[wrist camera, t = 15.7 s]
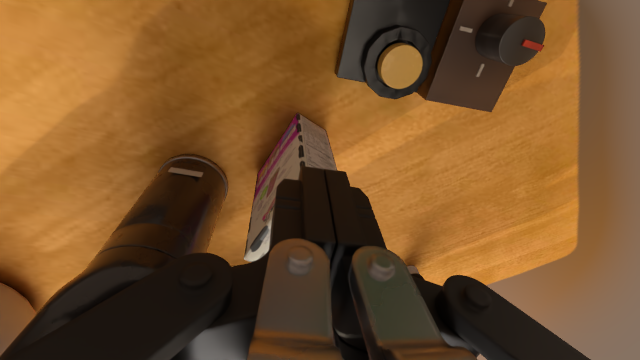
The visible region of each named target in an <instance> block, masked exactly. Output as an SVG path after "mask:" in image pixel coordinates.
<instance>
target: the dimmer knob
mask: <svg viewBox="0 0 640 360" xmlns="http://www.w3.org/2000/svg"><path fill="white" fill-rule="evenodd" d="M544 38H545V27H544V24H543V23H542V21H541V20H540V19H538V18H537V17H533V16H524V15H514V14H496V15H494V16H492V17H490V18H489V19H487V20H486V21H485V22H484V23H483V24H482V26H481V27H480V29H479V31H478V33H477V36H476V41H475V44H476V49H477V51H478V53H479V54H480V55H481V56H483V57H485V58H488V59H491V60H494V61H497V62H500V63H503V64H506V65H509V66H518V65H521V64H524V63H526V62H527V61H529V60H530V59H532V58H533V57H534V56H535V55H536V54H537V52H538V51H541V50H542V48H543V47H544V45H542V44H543V41H544Z"/></svg>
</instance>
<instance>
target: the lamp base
mask: <svg viewBox="0 0 640 360" xmlns="http://www.w3.org/2000/svg"><path fill="white" fill-rule="evenodd" d="M449 3H450V0H350V5H349V9H348V14H347V18H346V23H345V28H344V32H343V37H342V41H341V46H340V51H339V55H338V60H337V65H336V69H335V74H336V76H337V77H339V78H344V79H350V80H355V81H360V82H365V83H367V85H368V86H369V87H370V88H371V89H372V90H373V91H374V92H375V93H376V94H378V95H379V96H380V97H386V98H391V99H398V98H401V97H404V96H406V95H409V94H412V93H413V92H417V90H418V88H419V86H420V85H421V84H422V83H423V82H424V81H425V80H426V77H427V74H428V72H429V69H430V66H431V64H432V58H431V52H432V49H433V47H434V44H435V41H436V38H437V36H438V33H439V30H440V27H441V25H442V22H443V19H444V16H445V14H446V11H447V8H448V6H449ZM395 43H405V44H408V45H410V46H412V47H414V48H416V49H417V50H418V51H419V53H420V54H421V57H422V62H423V64H422V70H421V73H420V75H419V77H418V78H417V80H416V81H415V82H414V83H413V84H411V85H410V86H408V87H406V88H402V89H395V88H392V87H390V86H388V85H387V84H386V83H385V82H384V81H383V80H382V79H381V78H380V76H379V74H378V69H377V65H378V60H379V57H380V55H381V54H382V52H383V51H384V50H385V49H386V48H387V47H388V46H390V45H392V44H395Z"/></svg>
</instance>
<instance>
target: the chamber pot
mask: <svg viewBox="0 0 640 360" xmlns="http://www.w3.org/2000/svg"><path fill="white" fill-rule="evenodd" d="M35 315H36V313H35V310H34V308H33V307H32V305H31V304H30V303H29V301H28V300H27V299H26V298H25V297H24V296H22V295H21V294H20V293H18V292H17V291H16V290H14V289H12V288H10V287H8V286H6V285H4V284H2V283H0V355H1V354H2V353H3V352H4V351H5V350H6V349H7V347H8V346H9V345H10V344H11V343H12V342H13V340H14V339H15V338H16V337H17V336H18V335H19V333H20V332H21V331H22V330H23V329H24V328H25V327H26V325H27V324H28V323H29V322H30V321H31V320H32V318H33V317H34V316H35Z"/></svg>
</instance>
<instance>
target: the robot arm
mask: <svg viewBox="0 0 640 360" xmlns="http://www.w3.org/2000/svg"><path fill="white" fill-rule="evenodd" d="M227 191H228V182H227V179H226V176H225V174H224V173H223V171H222V170H221V169H220V168H219V167H218V166H217V165H216V164H215V163H213V162H212V161H210V160H208V159H206V158H204V157H201V156H197V155H190V154H185V155H179V156H175V157H173V158H171V159H169V160H168V161H166V162H165V163H164V165H163V166H162V167H161V169H160V170H159V172H158V174H157V175H156V176H155V178H154V179H153V180H152V182H151V183H150V184H149V186H148V187H147V188H146V190H145V191H144V192H143V194H142V195H141V196H140V198H139V199H138V200H137V202H136V203H135V204H134V206H133V207H132V208H131V210H130V211H129V212H128V214H127V215H126V216H125V218H124V219H123V220H122V222H121V223H120V224H119V226H118V227H117V228H116V230H115V231H114V232H113V234H112V235H111V236H110V238H109V239H108V241H107V242H106V243H105V245H104V246H103V247H102V249H101V250H100V251H99V252H98V254H97V255H96V256H95V258H94V259H93V260H92V262H91V263H90V264H89V266H88V267H87V268H86V269H85V270H84V271H83V272H82V273H81V274H79V275H78V276H77V277H75V278H74V279H73V280H71V281H70V282H68V283H67V284H66V285H64V286H63V287H62V288H61V289H60V290H58V291H57V292H56V293H55V294H54V295H53V296H52V297H51V298H50V299H49V300H48V301H47V302H46V303H45V305H44V306H43V307H42V308H41V309H40V310H39V311H38V313H37V314H36V315H35V316H34V317H33V318H32V320H31V321H30V322H29V323H28V324H27V325H26V327H25V328H24V329H23V330H22V331H21V332H20V333H19V335H18V336H17V337H16V338H15V339H14V340H13V342H12V343H11V344H10V345H9V346H8V347H7V349H6V350H5V351H4V352H3V353H2V354H1V355H0V360H477V356H478V355H479V354H481V355H483V356H484V357H485V358H486V359H487V360H590V359H589V358H587V357H586V356H584V355H583V354H582V353H580V352H579V351H578V350H576V349H575V348H573V347H572V346H570V345H569V344H568V343H566V342H565V341H563V340H562V339H561V338H559V337H558V336H556V335H555V334H554V333H552V332H551V331H549V330H548V329H546V328H545V327H544V326H542V325H541V324H539V323H538V322H536V321H535V320H534V319H532V318H531V317H530V316H528V315H527V314H525V313H524V312H523V311H521V310H520V309H518V308H517V307H516V306H514V305H513V304H511V303H510V302H508V301H507V300H506V299H504V298H503V297H501V296H500V295H499V294H497V293H496V292H494V291H493V290H491V289H490V288H488V287H487V286H486V285H484V284H483V283H481V282H479V281H478V280H476V279H473V278H471V277H467V276H463V275H454V276H451V277H449V278H448V279H447V280H446V281H445V283H444V285H443V286H440V285H437V284H434V283H431V282H428V281H425V280H422V279H420V278H417V277H415V276H412V275H411V274H410V272H409V270H408V268H407V266H406V264H405V263H404V262H403V260H402V259H401V258H400V257H399V256H397V255H396V254H395V253H393V252H391V251H389V250H387V248H386V245H385V243H384V240H383V237H382V234H381V232H380V229H379V226H378V223H377V221H376V219H375V215H374V213H373V210H372V207H371V204H370V202H369V199H368V197H367V196H366V195H365V194H364V193H363V192H362V191H361V190H360V189H359V188H355V187H350V184H349V181H348V177H347V174H346V172H344V171H336V170H329V169H324V170H323V169H321V168H314V167H307V166H301V168H300V172H299V177H298V180H293V179H285V178H284V179H283V180H282V181H281V182H280V183H279V185H278V186H277V189H276V196H275V203H274V209H273V216H272V223H271V233H270V243H269V250H268V252H267V253H266V254H265V255H264V256H263V257H261V258H260V259H258V260H256V261H254V262H251V263H248V264H244V265H238V266H233V267H231V266H230V265H229V264H228V262H227V261H225V260H224V259H223V258H221V257H219V256H217V255H214V254H210V253H206V252H207V249H208V246H209V243H210V240H211V237H212V234H213V231H214V228H215V225H216V222H217V219H218V216H219V213H220V210H221V207H222V204H223V202H224V200H225V198H226V195H227ZM331 313H332V314H331Z"/></svg>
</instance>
